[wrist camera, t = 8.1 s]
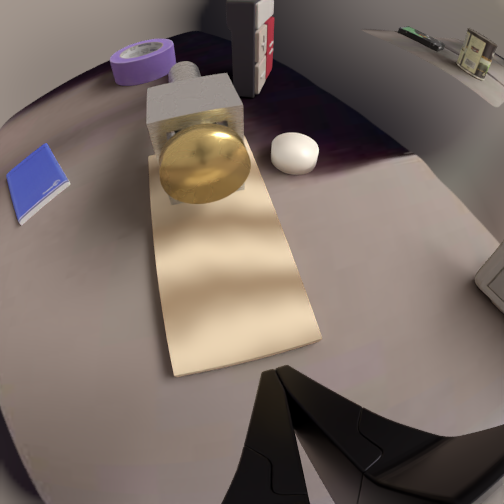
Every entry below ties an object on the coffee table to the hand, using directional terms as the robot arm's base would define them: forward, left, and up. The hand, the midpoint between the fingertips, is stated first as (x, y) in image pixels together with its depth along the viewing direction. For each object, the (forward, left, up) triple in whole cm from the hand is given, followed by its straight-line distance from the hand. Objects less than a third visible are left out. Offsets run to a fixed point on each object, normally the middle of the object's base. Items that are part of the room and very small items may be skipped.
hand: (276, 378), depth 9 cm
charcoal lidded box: (+27, +33, -13) cm, 44 cm away
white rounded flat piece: (+18, +16, -13) cm, 27 cm away
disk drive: (+102, +35, -13) cm, 109 cm away
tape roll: (+17, +52, -13) cm, 56 cm away
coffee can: (+99, +16, -13) cm, 101 cm away
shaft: (+10, +21, -9) cm, 25 cm away
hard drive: (-8, +36, -13) cm, 40 cm away
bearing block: (+9, +19, -12) cm, 24 cm away
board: (+6, +13, -13) cm, 19 cm away
